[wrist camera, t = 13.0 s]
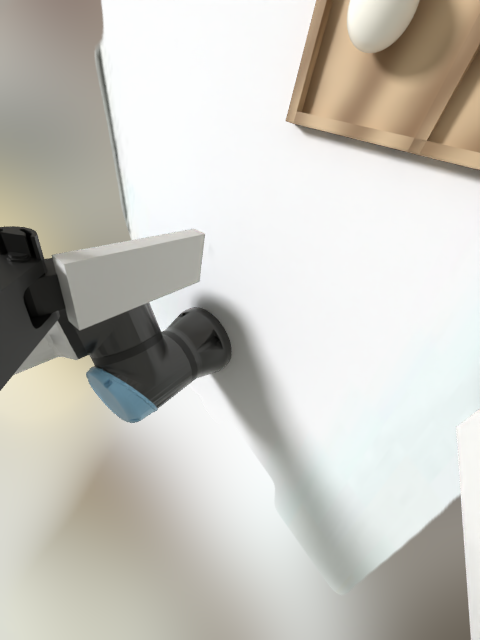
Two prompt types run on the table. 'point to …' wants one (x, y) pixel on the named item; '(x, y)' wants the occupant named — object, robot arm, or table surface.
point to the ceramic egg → (378, 22)
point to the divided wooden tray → (396, 82)
